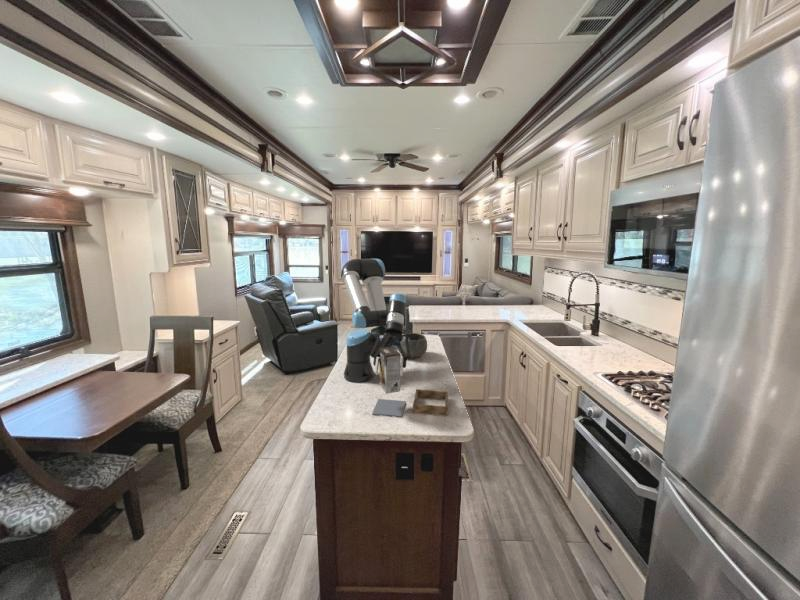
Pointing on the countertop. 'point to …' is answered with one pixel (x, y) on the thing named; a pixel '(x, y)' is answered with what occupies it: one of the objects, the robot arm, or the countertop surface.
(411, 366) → the countertop surface
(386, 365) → the coffee box
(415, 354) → the bowl
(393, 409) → the slate mat
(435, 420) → the countertop surface
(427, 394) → the walnut frame
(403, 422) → the countertop surface
